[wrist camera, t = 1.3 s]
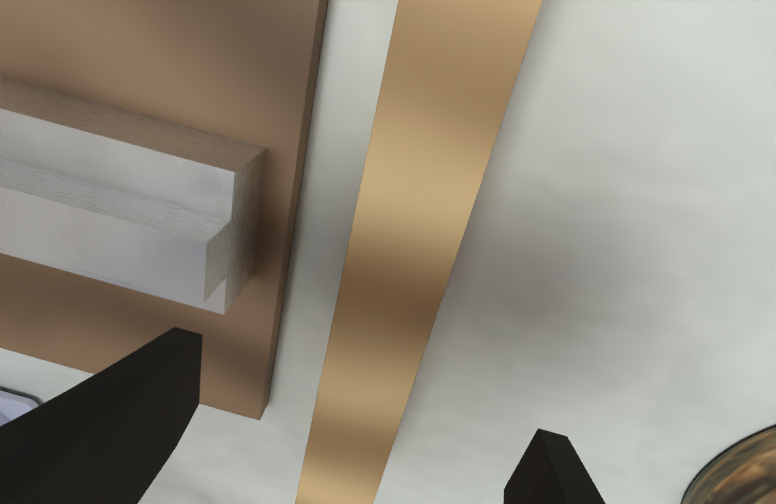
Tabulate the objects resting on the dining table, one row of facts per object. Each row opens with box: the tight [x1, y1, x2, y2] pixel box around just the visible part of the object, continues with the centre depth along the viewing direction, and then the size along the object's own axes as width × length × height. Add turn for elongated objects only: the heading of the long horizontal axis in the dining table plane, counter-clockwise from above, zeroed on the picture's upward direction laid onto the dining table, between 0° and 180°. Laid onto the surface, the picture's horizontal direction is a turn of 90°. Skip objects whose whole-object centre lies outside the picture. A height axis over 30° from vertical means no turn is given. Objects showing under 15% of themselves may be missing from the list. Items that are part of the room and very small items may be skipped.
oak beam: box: [295, 0, 543, 504], centre depth 16 cm, size 22×3×4 cm, turn 167°
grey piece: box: [0, 75, 267, 315], centre depth 15 cm, size 5×11×4 cm, turn 77°
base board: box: [0, 0, 328, 420], centre depth 17 cm, size 20×13×1 cm, turn 167°
